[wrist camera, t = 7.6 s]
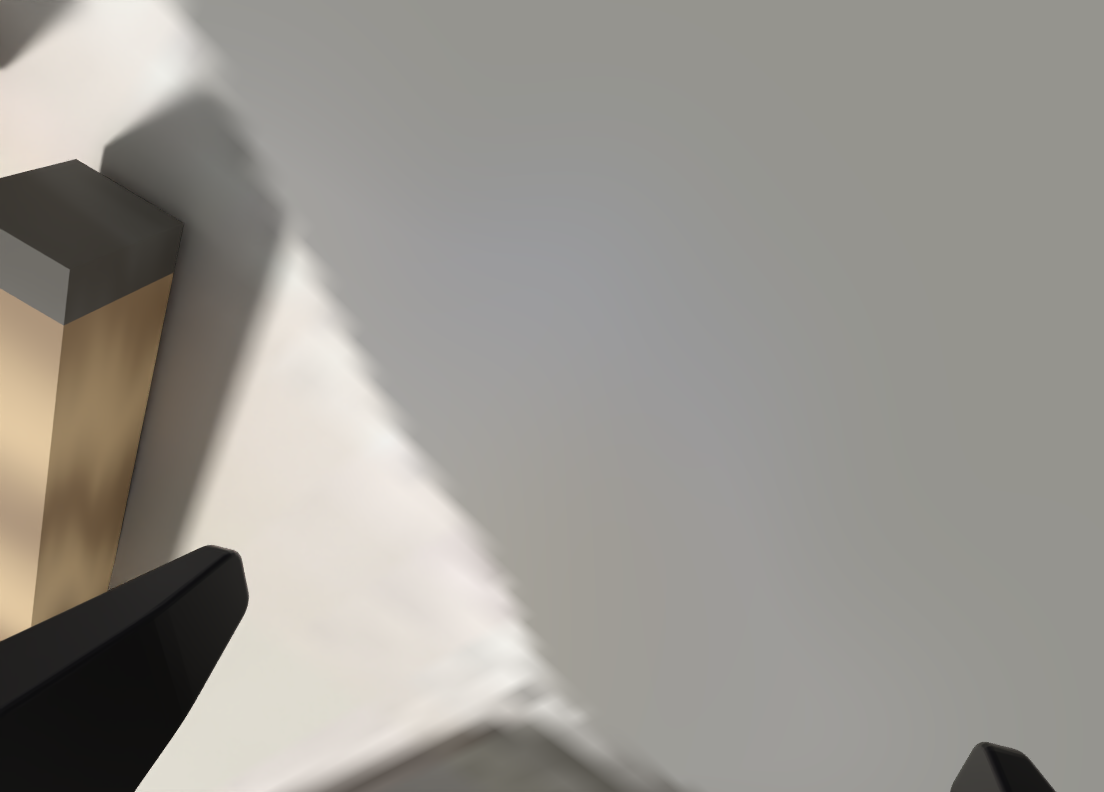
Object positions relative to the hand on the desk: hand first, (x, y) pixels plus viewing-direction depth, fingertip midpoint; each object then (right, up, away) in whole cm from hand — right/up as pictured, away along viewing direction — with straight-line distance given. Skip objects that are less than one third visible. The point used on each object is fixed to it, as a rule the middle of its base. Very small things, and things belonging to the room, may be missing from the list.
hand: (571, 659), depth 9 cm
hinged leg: (-14, +1, +13) cm, 19 cm away
